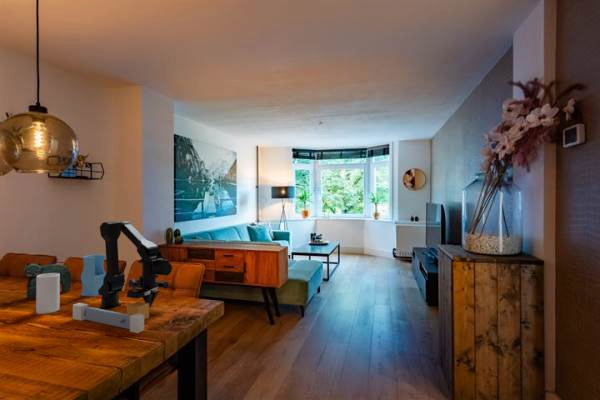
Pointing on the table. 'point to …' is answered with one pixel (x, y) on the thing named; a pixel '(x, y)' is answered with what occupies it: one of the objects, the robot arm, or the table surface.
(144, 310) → the wedge
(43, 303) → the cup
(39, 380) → the table surface
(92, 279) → the vase
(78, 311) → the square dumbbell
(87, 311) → the grey end-capped bar
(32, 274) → the ceramic cat
